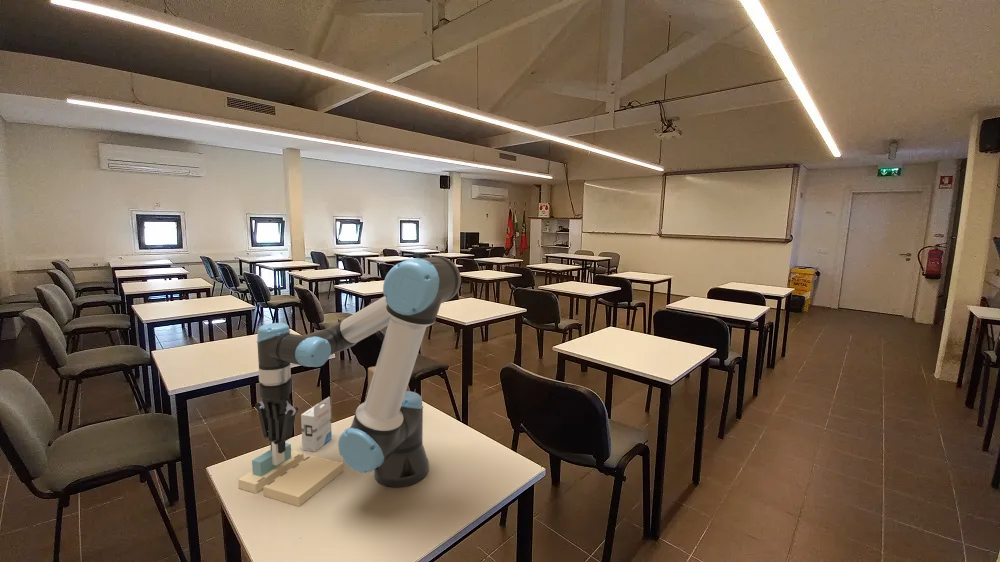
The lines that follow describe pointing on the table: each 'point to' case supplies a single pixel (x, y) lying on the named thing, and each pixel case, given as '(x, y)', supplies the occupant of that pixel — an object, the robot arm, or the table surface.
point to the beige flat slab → (303, 480)
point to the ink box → (316, 426)
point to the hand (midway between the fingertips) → (278, 462)
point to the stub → (268, 469)
